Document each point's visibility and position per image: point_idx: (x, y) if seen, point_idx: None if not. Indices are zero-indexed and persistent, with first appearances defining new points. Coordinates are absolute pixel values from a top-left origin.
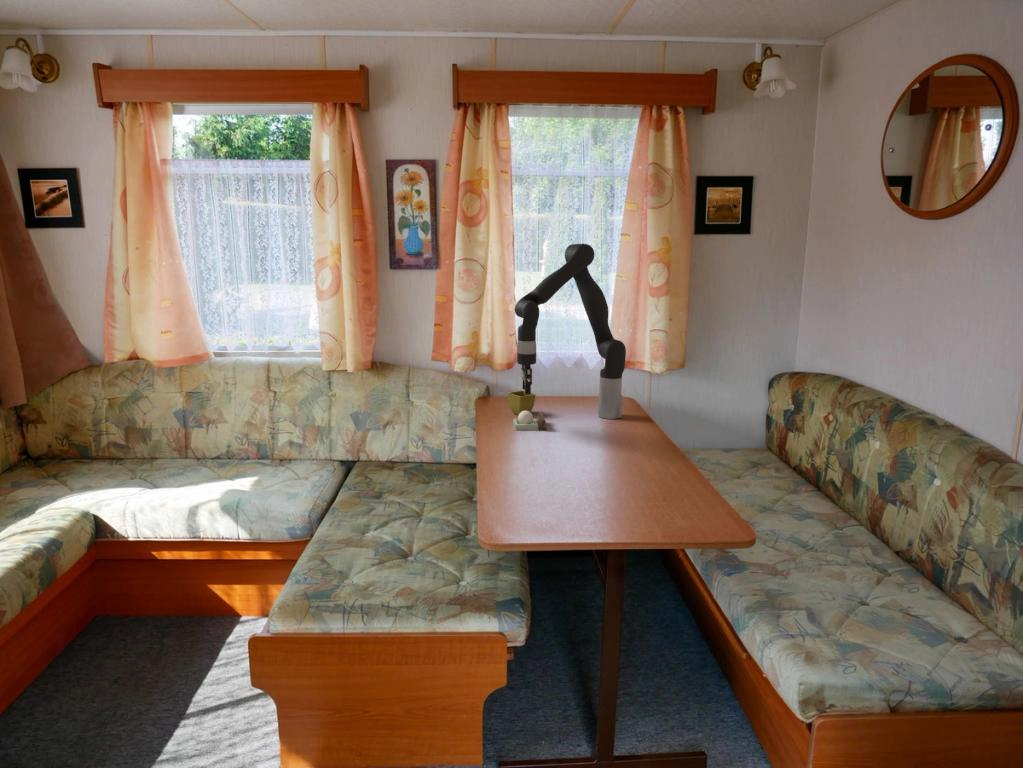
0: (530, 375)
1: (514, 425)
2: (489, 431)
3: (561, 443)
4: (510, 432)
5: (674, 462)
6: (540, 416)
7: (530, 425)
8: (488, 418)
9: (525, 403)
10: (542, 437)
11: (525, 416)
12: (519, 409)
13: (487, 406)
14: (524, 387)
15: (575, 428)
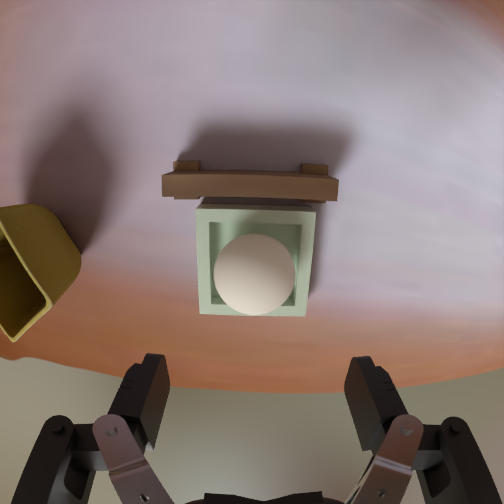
0: (486, 496)
1: None
2: (301, 383)
3: (479, 159)
4: (328, 323)
5: None
6: (246, 192)
7: (311, 249)
8: None
9: (51, 254)
10: (415, 210)
11: (292, 288)
12: (78, 273)
13: None
14: (165, 388)
15: (299, 29)
